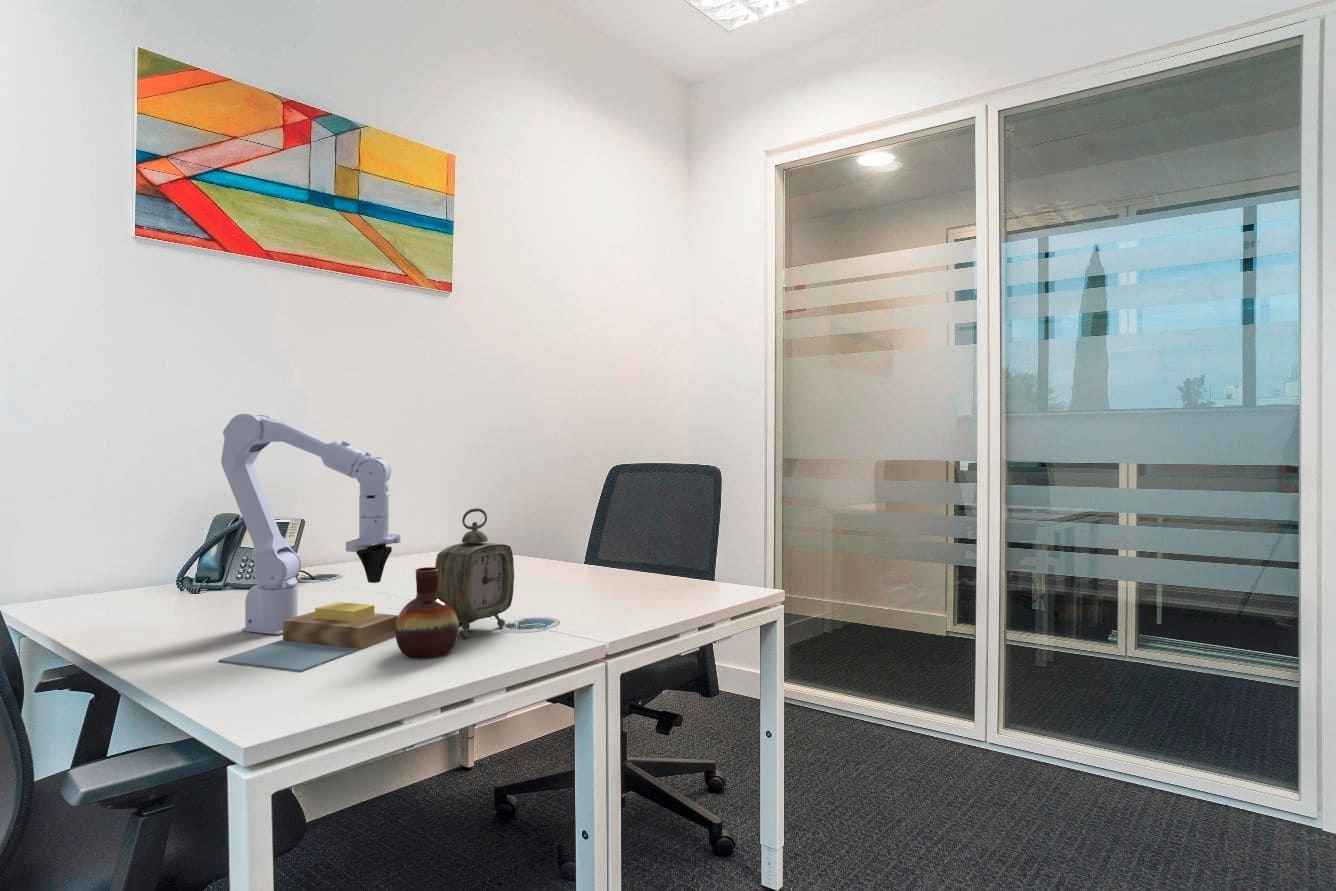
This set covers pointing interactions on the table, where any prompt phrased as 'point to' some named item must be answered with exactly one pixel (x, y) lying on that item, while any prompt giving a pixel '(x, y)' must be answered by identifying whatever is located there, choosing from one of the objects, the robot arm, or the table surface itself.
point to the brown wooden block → (340, 630)
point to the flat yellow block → (344, 611)
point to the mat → (289, 655)
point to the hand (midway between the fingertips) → (374, 582)
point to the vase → (426, 620)
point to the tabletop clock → (476, 576)
